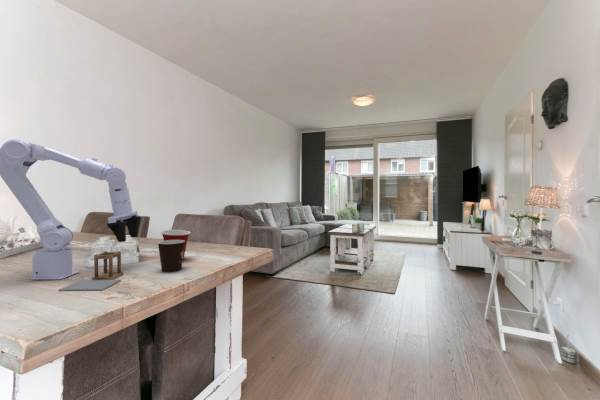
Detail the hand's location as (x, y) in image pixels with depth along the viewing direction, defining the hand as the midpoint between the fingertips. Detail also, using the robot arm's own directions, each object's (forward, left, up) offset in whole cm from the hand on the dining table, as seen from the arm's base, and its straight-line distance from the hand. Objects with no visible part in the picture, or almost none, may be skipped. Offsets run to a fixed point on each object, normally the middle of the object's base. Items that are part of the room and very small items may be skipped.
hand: (128, 239), depth 100 cm
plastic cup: (+12, +12, -11) cm, 20 cm away
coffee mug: (+16, 0, -11) cm, 20 cm away
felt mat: (-1, -18, -11) cm, 21 cm away
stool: (-1, -10, -11) cm, 15 cm away
